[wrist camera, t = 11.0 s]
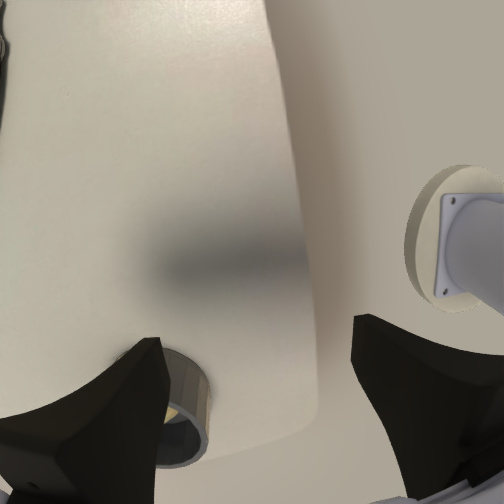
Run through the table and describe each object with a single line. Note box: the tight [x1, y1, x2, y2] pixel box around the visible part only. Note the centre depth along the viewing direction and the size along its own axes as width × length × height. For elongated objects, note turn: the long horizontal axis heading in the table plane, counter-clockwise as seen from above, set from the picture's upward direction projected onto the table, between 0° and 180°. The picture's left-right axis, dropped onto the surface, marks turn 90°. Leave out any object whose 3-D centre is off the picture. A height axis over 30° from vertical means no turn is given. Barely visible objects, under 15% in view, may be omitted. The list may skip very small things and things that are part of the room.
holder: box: [115, 348, 211, 469], centre depth 21 cm, size 8×8×6 cm
